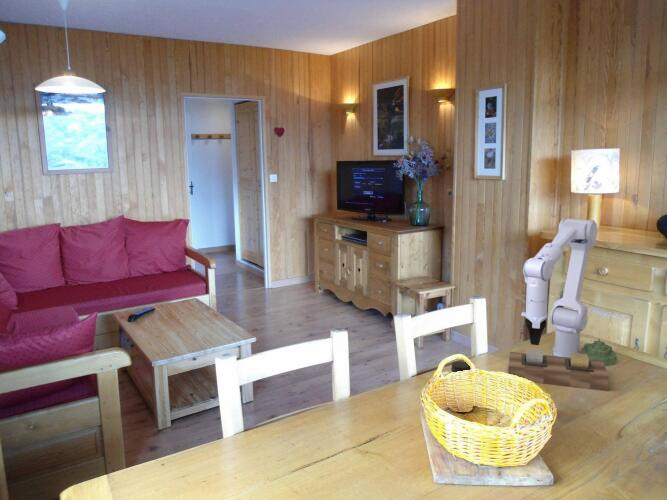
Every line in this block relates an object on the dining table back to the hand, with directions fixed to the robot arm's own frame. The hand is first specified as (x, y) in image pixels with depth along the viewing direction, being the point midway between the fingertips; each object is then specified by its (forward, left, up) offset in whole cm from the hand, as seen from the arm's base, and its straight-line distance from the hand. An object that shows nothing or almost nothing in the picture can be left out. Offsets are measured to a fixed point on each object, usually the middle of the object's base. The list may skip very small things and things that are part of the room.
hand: (534, 344), depth 154 cm
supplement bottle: (+27, -18, -10) cm, 34 cm away
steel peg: (0, 0, -7) cm, 7 cm away
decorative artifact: (-17, +19, -10) cm, 27 cm away
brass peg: (0, +12, -7) cm, 14 cm away
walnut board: (0, +6, -9) cm, 11 cm away
